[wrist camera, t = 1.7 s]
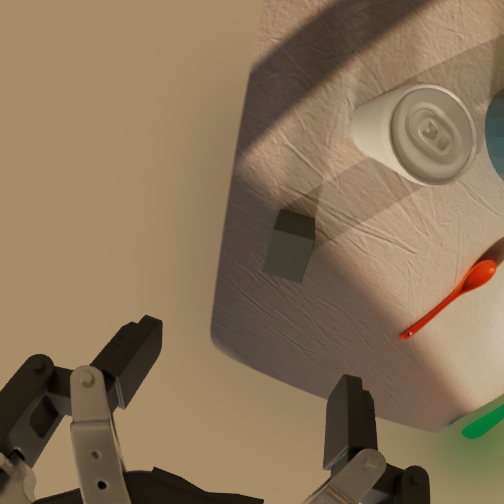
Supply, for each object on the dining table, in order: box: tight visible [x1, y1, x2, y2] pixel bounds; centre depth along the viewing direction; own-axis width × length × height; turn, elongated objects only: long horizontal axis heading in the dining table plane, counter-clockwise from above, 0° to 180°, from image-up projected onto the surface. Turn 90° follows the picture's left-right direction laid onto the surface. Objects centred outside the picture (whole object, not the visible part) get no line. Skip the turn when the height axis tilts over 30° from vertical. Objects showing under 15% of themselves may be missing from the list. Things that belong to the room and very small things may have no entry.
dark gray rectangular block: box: [262, 209, 315, 283], centre depth 23 cm, size 3×4×5 cm
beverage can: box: [350, 82, 478, 187], centre depth 15 cm, size 5×5×12 cm
